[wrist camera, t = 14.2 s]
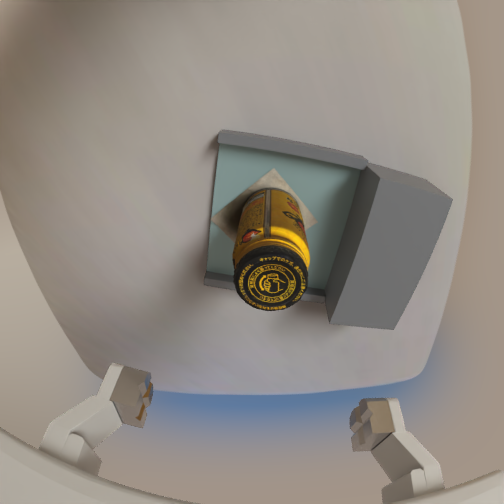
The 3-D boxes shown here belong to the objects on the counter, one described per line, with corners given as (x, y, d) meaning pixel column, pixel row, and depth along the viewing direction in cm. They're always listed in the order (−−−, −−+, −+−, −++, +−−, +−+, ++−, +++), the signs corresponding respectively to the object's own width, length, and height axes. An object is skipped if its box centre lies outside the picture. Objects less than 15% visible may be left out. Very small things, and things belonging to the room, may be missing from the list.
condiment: (317, 221, 31) (338, 291, 21) (255, 264, 34) (247, 343, 24) (274, 167, 29) (274, 215, 18) (210, 217, 32) (180, 285, 21)
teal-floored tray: (222, 129, 28) (210, 139, 22) (427, 175, 28) (454, 194, 23) (206, 275, 36) (196, 307, 31) (379, 300, 37) (391, 333, 31)
